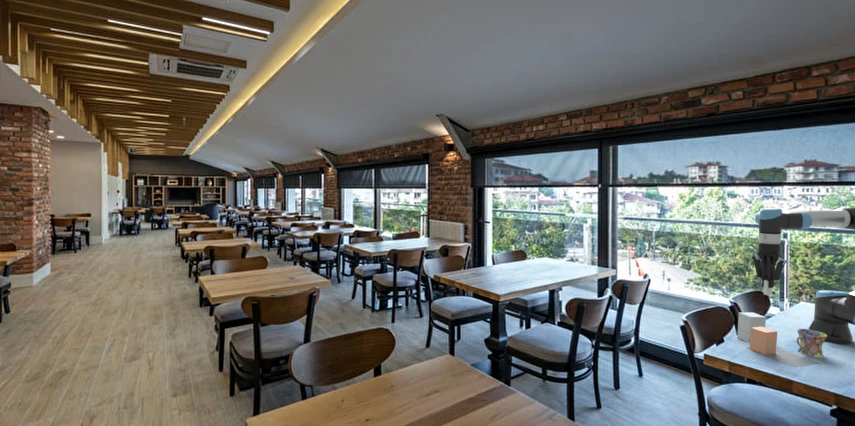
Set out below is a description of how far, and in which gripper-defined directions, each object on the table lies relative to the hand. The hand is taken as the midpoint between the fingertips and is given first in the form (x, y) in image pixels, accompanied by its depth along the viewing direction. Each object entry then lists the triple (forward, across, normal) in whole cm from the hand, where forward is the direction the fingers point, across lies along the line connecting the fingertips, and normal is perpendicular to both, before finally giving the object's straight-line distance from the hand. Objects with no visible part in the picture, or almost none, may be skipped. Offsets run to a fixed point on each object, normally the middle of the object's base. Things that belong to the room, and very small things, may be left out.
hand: (767, 294), depth 178 cm
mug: (+25, +13, +5) cm, 28 cm away
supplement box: (+24, -7, +1) cm, 25 cm away
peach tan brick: (+22, +6, -11) cm, 26 cm away
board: (+24, +11, -8) cm, 28 cm away
